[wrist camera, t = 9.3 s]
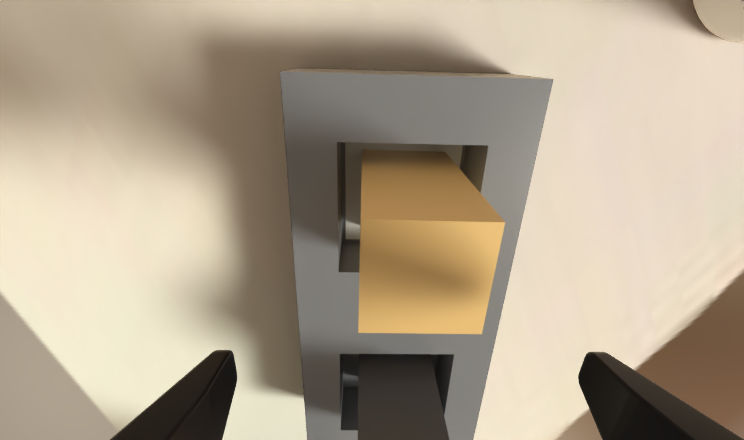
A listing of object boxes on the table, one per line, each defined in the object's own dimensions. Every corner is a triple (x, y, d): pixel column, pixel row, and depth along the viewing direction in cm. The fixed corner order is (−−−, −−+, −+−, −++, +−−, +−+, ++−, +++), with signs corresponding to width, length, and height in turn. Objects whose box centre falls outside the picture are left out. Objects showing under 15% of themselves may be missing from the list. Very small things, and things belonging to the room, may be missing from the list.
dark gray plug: (419, 376, 24) (444, 519, 16) (358, 376, 23) (356, 521, 16) (424, 329, 22) (455, 465, 15) (359, 328, 22) (357, 466, 14)
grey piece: (454, 400, 26) (469, 456, 22) (316, 400, 26) (308, 457, 22) (512, 74, 17) (553, 79, 13) (298, 67, 16) (280, 71, 13)
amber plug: (436, 226, 19) (481, 334, 12) (360, 225, 19) (358, 332, 11) (445, 151, 17) (505, 222, 10) (362, 149, 17) (361, 219, 10)
